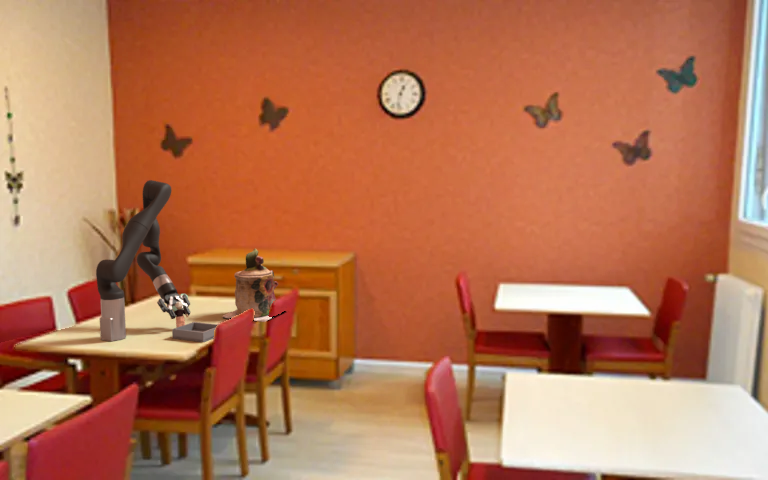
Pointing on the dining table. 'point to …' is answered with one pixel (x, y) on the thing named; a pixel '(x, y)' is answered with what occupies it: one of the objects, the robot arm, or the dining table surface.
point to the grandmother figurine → (180, 314)
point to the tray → (194, 332)
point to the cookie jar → (254, 288)
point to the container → (175, 307)
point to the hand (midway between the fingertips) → (181, 316)
